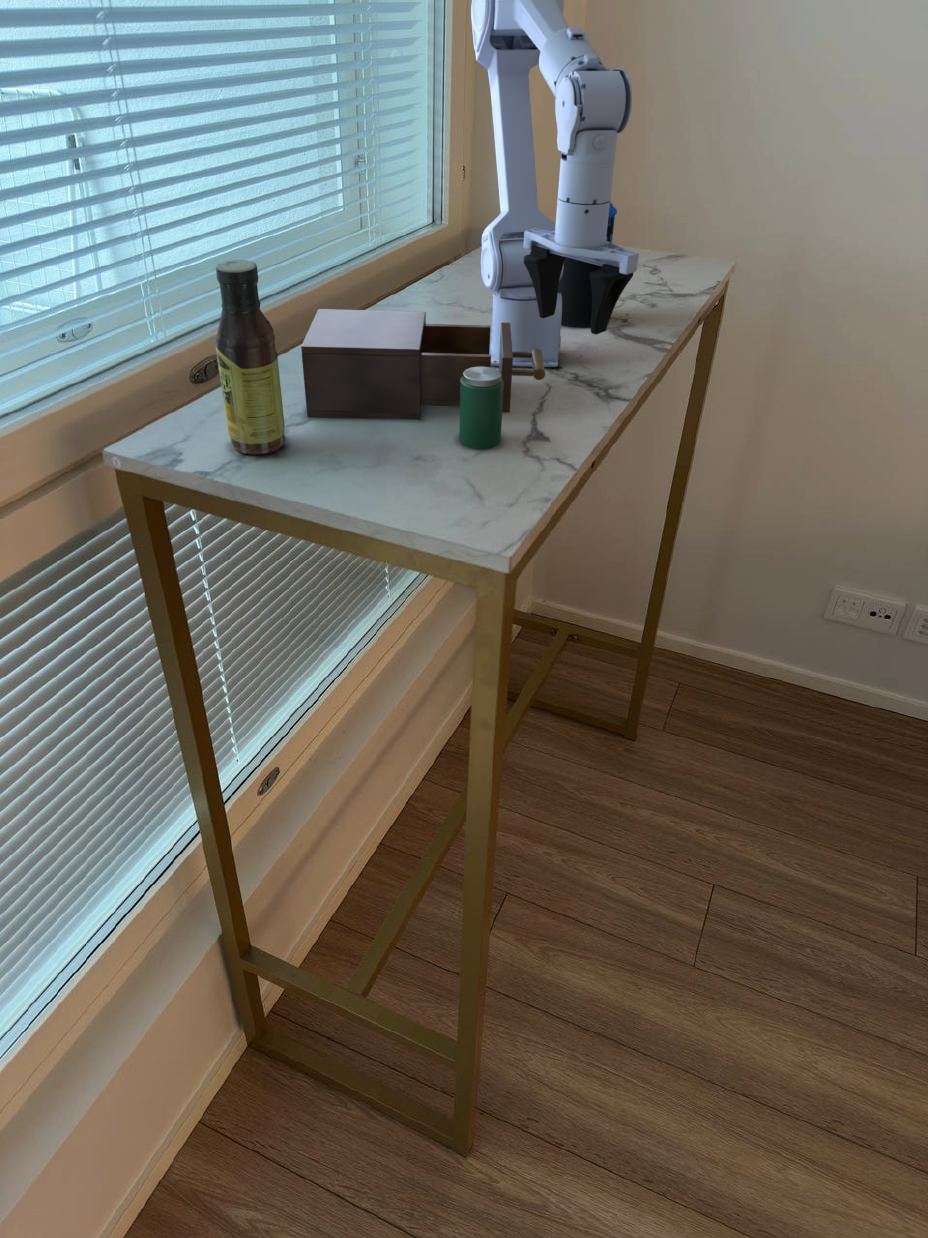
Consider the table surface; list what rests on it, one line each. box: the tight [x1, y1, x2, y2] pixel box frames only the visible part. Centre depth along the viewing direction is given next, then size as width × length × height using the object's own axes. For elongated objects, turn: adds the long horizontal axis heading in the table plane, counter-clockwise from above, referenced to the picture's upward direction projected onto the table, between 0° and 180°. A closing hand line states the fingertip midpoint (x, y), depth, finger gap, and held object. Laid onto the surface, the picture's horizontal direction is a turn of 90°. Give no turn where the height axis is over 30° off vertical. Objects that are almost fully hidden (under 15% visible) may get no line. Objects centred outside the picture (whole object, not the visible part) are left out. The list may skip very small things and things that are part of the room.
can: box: [458, 367, 504, 450], centre depth 102 cm, size 5×5×8 cm
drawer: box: [420, 323, 546, 414], centre depth 111 cm, size 17×12×7 cm
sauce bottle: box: [214, 259, 286, 456], centre depth 96 cm, size 6×6×20 cm
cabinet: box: [300, 308, 427, 421], centre depth 111 cm, size 14×14×9 cm
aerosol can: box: [558, 201, 618, 328], centre depth 134 cm, size 8×8×20 cm
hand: (572, 323), depth 106 cm, fingers open, 7 cm apart
